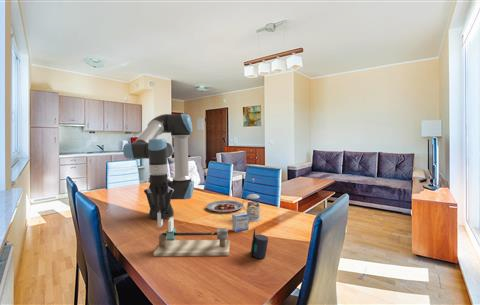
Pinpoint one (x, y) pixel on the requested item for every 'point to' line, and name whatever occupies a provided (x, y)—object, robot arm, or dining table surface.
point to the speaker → (259, 246)
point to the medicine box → (240, 222)
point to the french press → (251, 215)
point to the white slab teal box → (171, 230)
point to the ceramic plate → (224, 206)
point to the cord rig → (194, 245)
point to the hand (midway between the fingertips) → (160, 225)
